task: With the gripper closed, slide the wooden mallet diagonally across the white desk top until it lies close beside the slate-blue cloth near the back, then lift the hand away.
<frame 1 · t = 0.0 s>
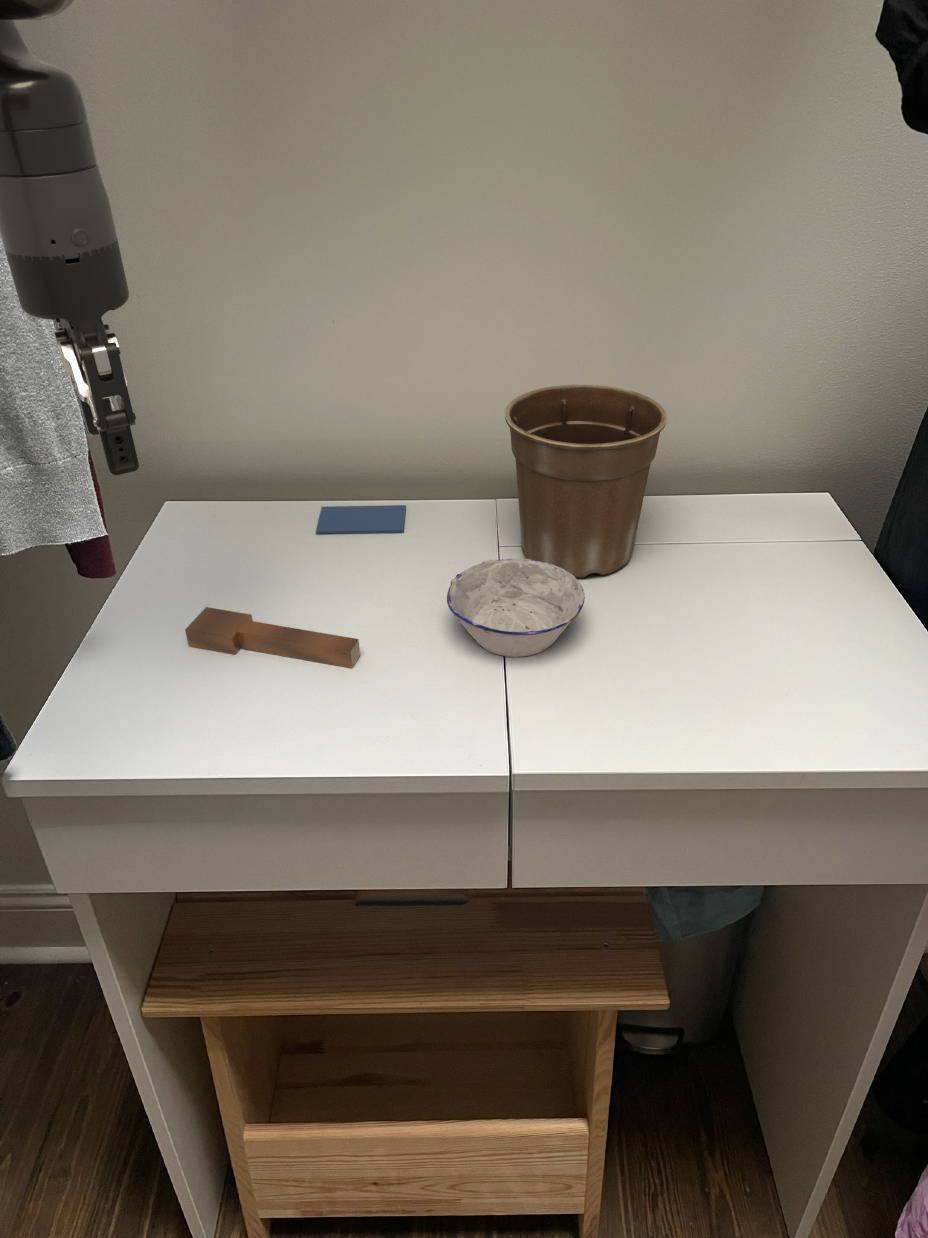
hand: (113, 450, 76), 22 cm above the table, tool pointing down, fingers open, 8 cm apart
wooden mallet: (263, 645, 90), on the table
bowl: (514, 634, 92), on the table
cloth: (362, 520, 110), on the table
plant pot: (576, 551, 104), on the table
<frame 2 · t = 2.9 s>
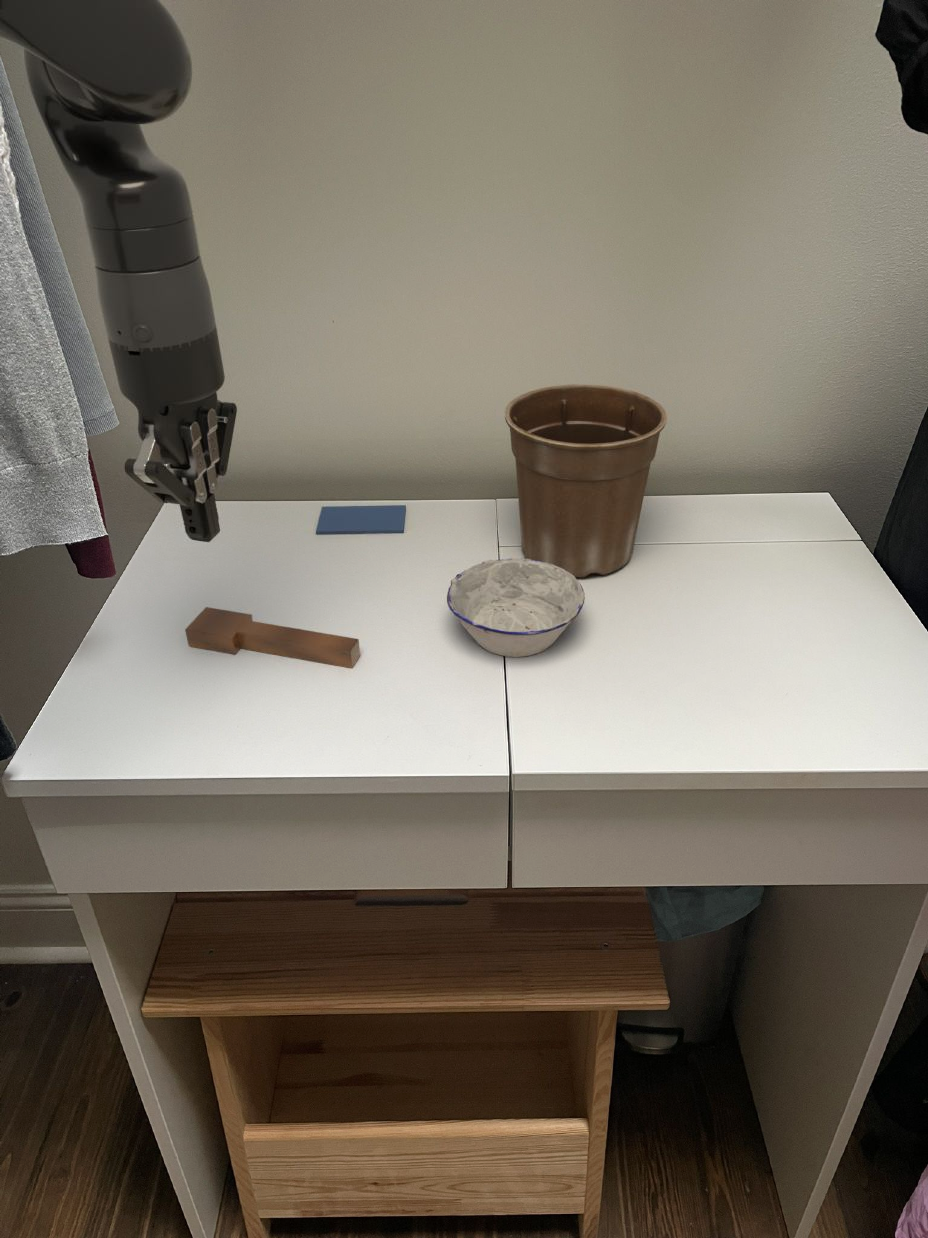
hand: (204, 536, 77), 15 cm above the table, tool pointing down, fingers closed
nothing on the table moved.
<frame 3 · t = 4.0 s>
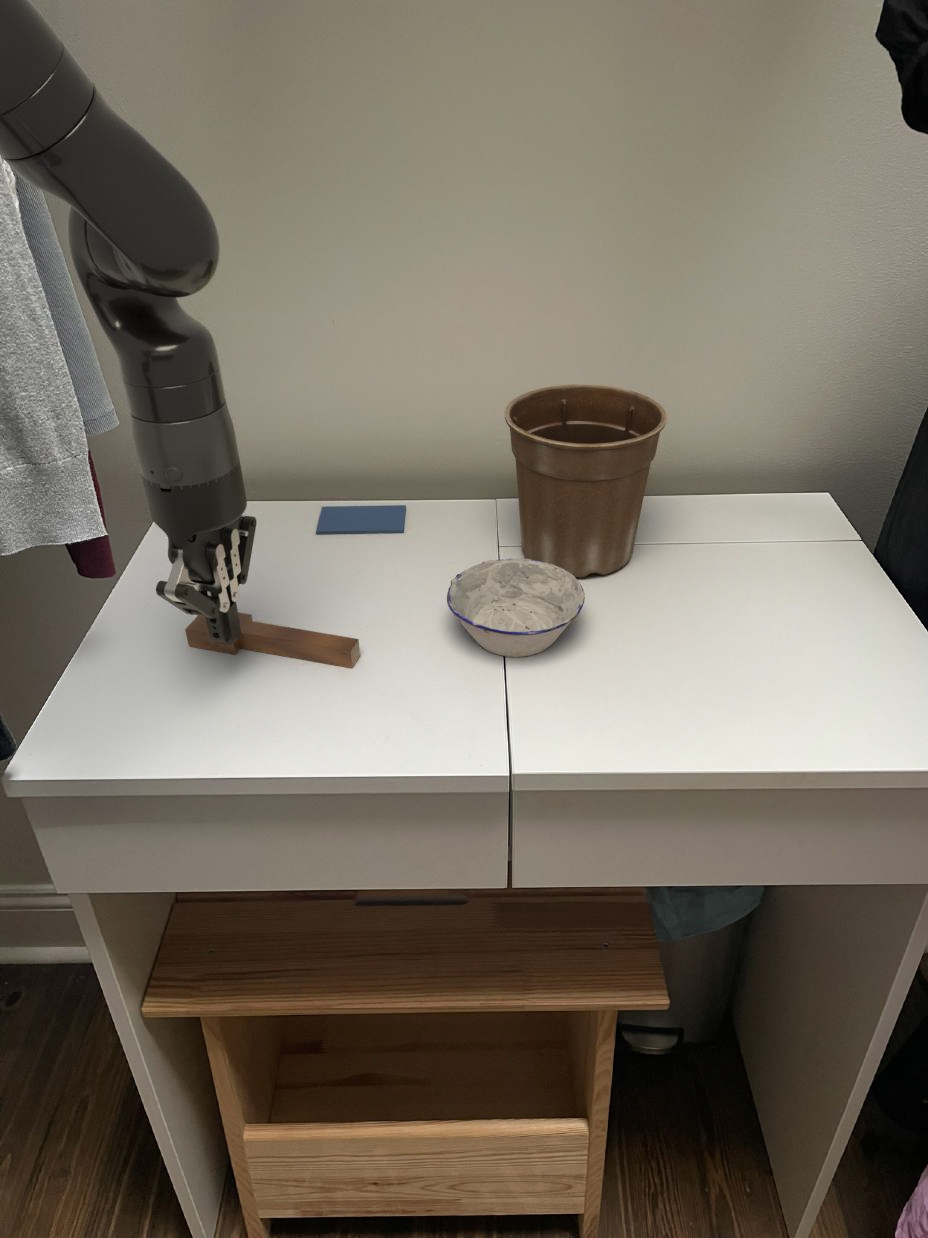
hand: (226, 639, 83), 5 cm above the table, tool pointing down, fingers closed
nothing on the table moved.
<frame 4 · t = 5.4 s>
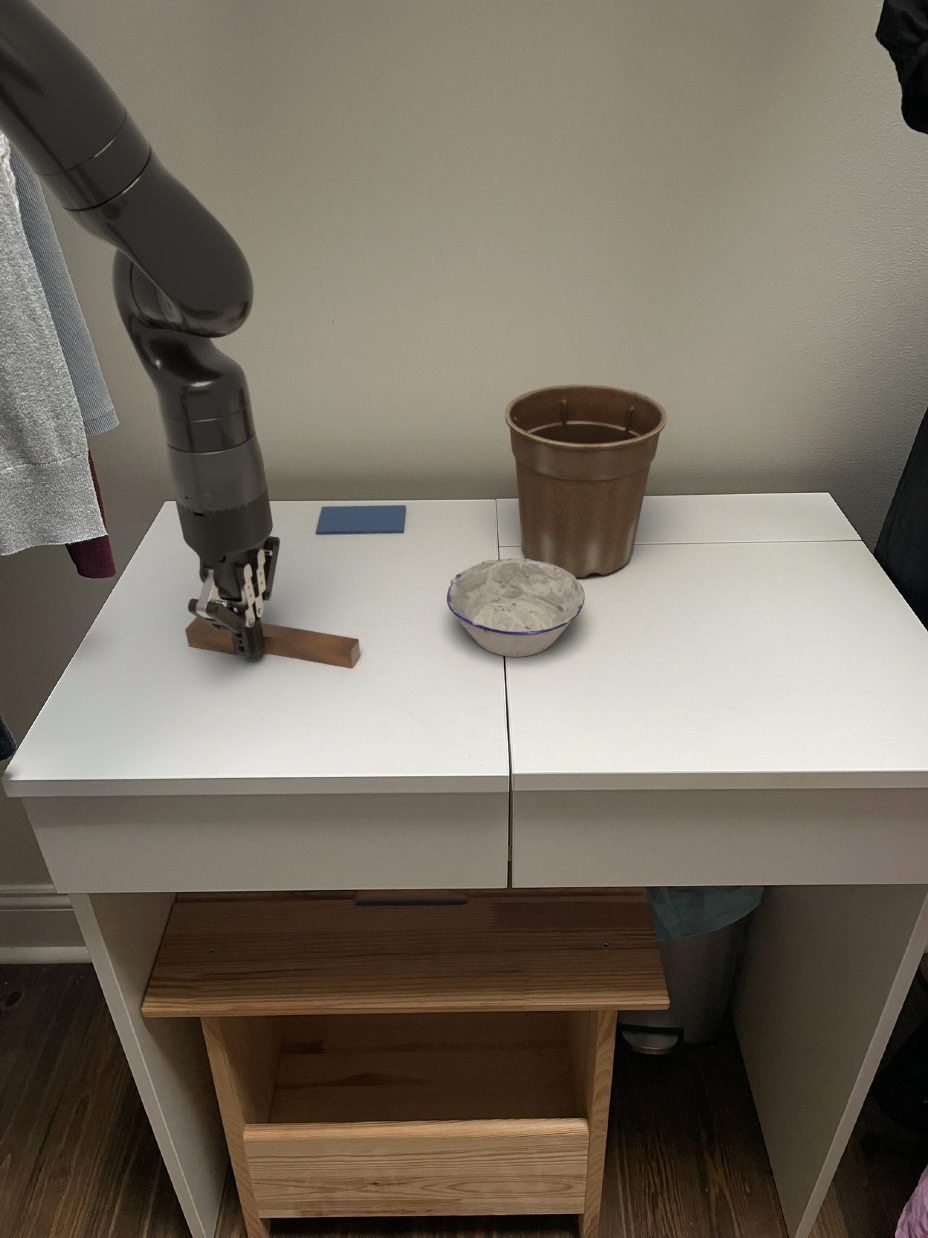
hand: (251, 652, 88), 1 cm above the table, tool pointing down, fingers closed
wooden mallet: (263, 645, 90), on the table, touching gripper
everything else where it was.
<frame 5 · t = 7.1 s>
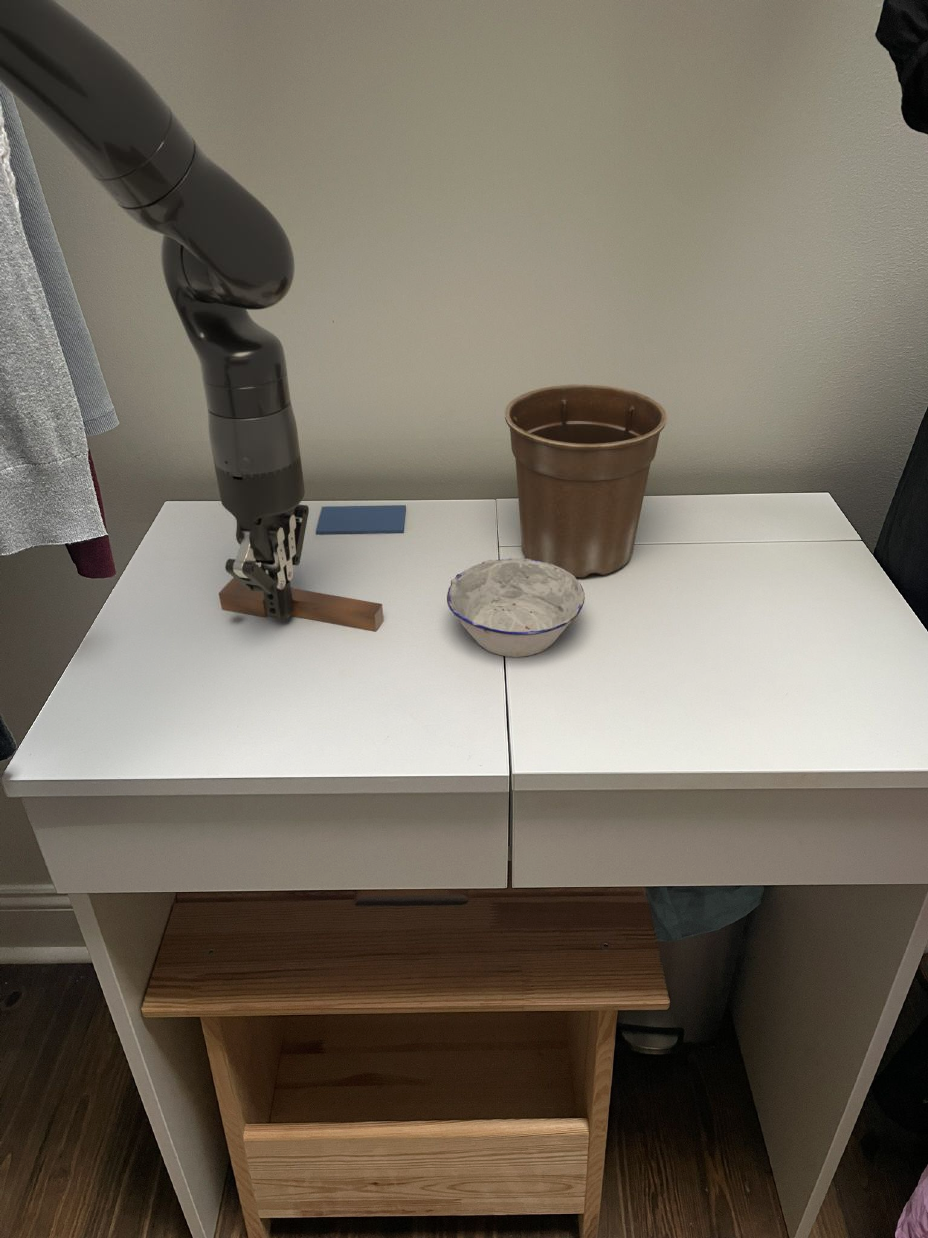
hand: (280, 614, 93), 1 cm above the table, tool pointing down, fingers closed
wooden mallet: (291, 609, 95), on the table, touching gripper
everything else where it was.
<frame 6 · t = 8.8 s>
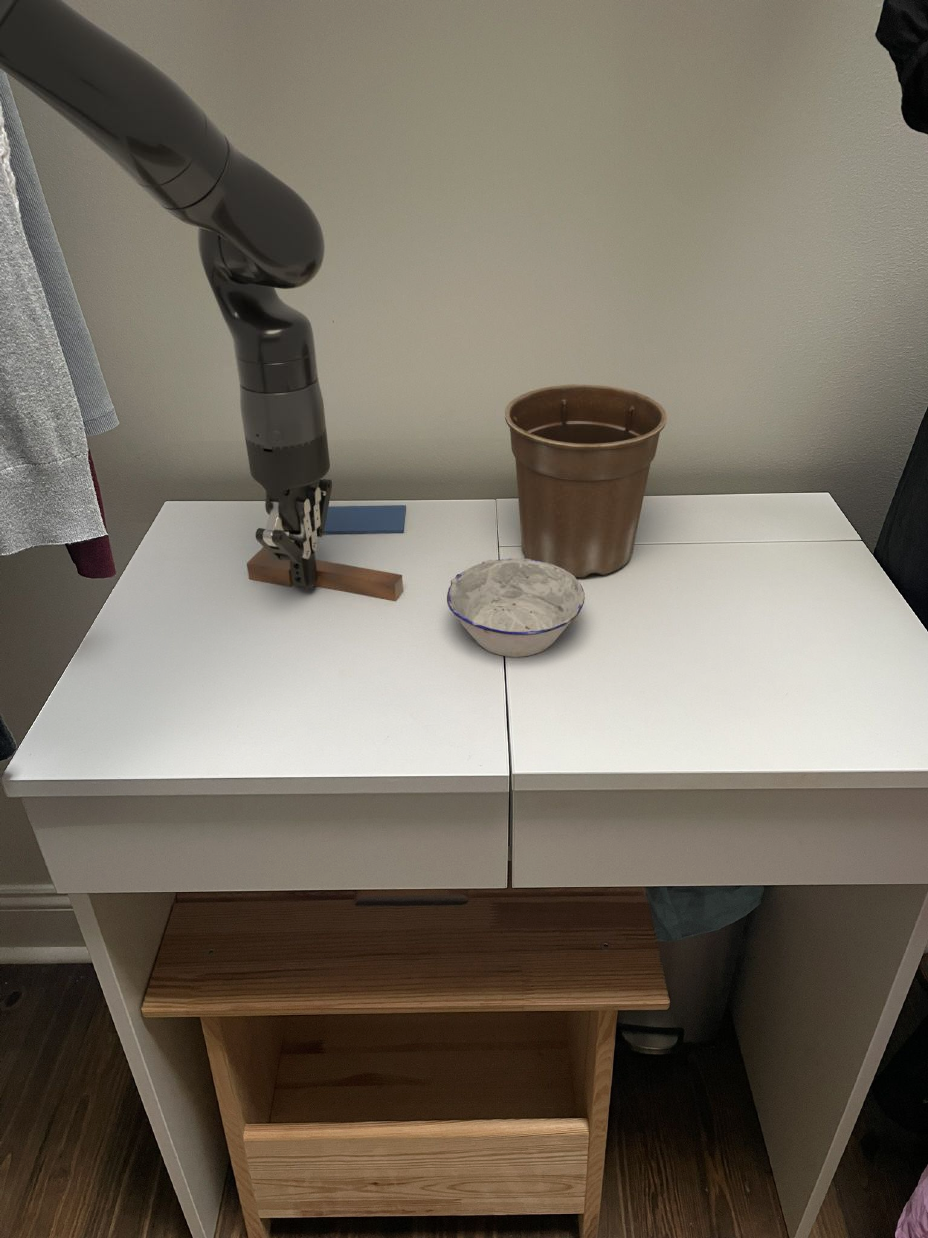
hand: (305, 584, 97), 1 cm above the table, tool pointing down, fingers closed
wooden mallet: (315, 580, 100), on the table, touching gripper
everything else where it was.
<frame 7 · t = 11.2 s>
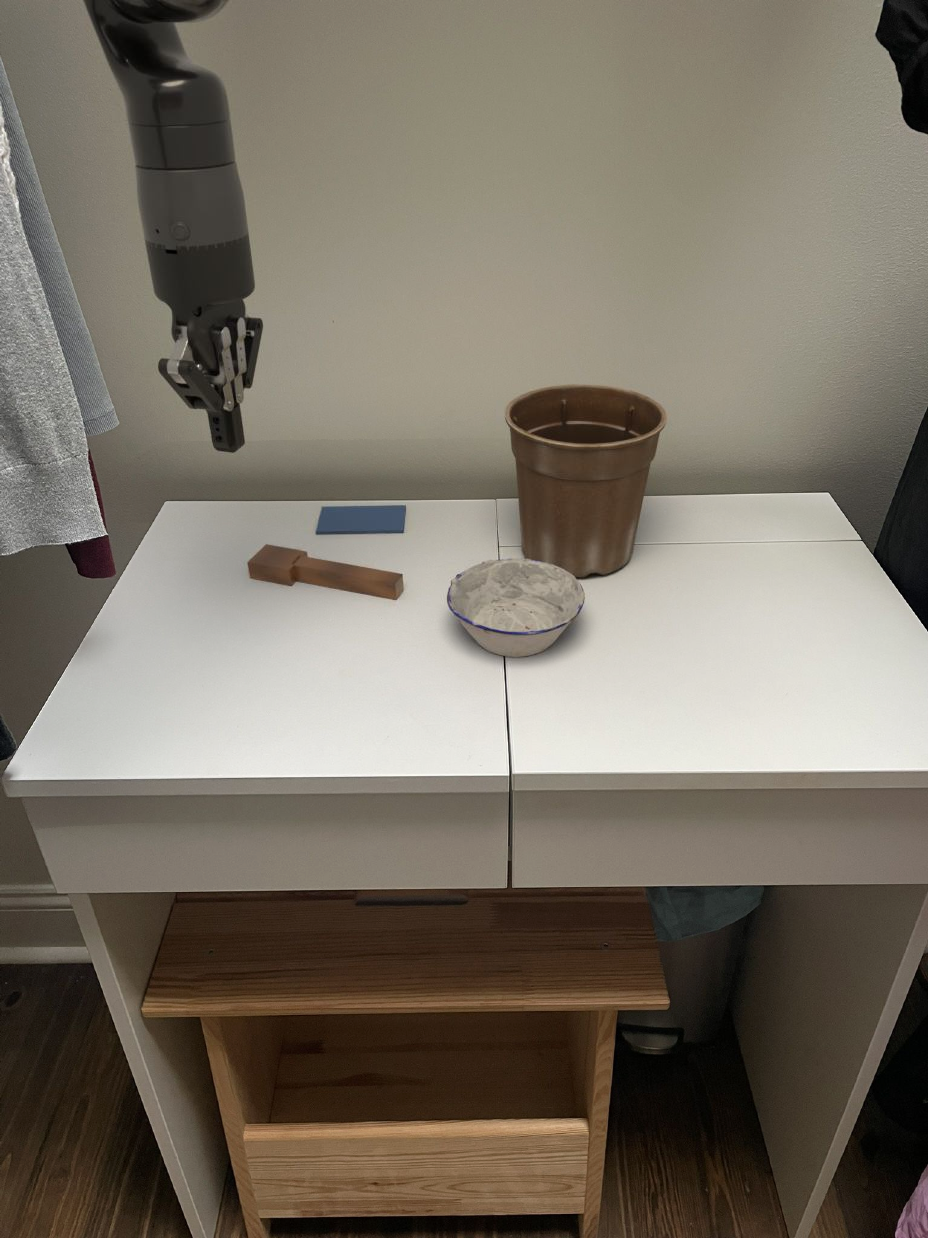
hand: (229, 448, 79), 20 cm above the table, tool pointing down, fingers closed
wooden mallet: (316, 579, 100), on the table
everything else where it was.
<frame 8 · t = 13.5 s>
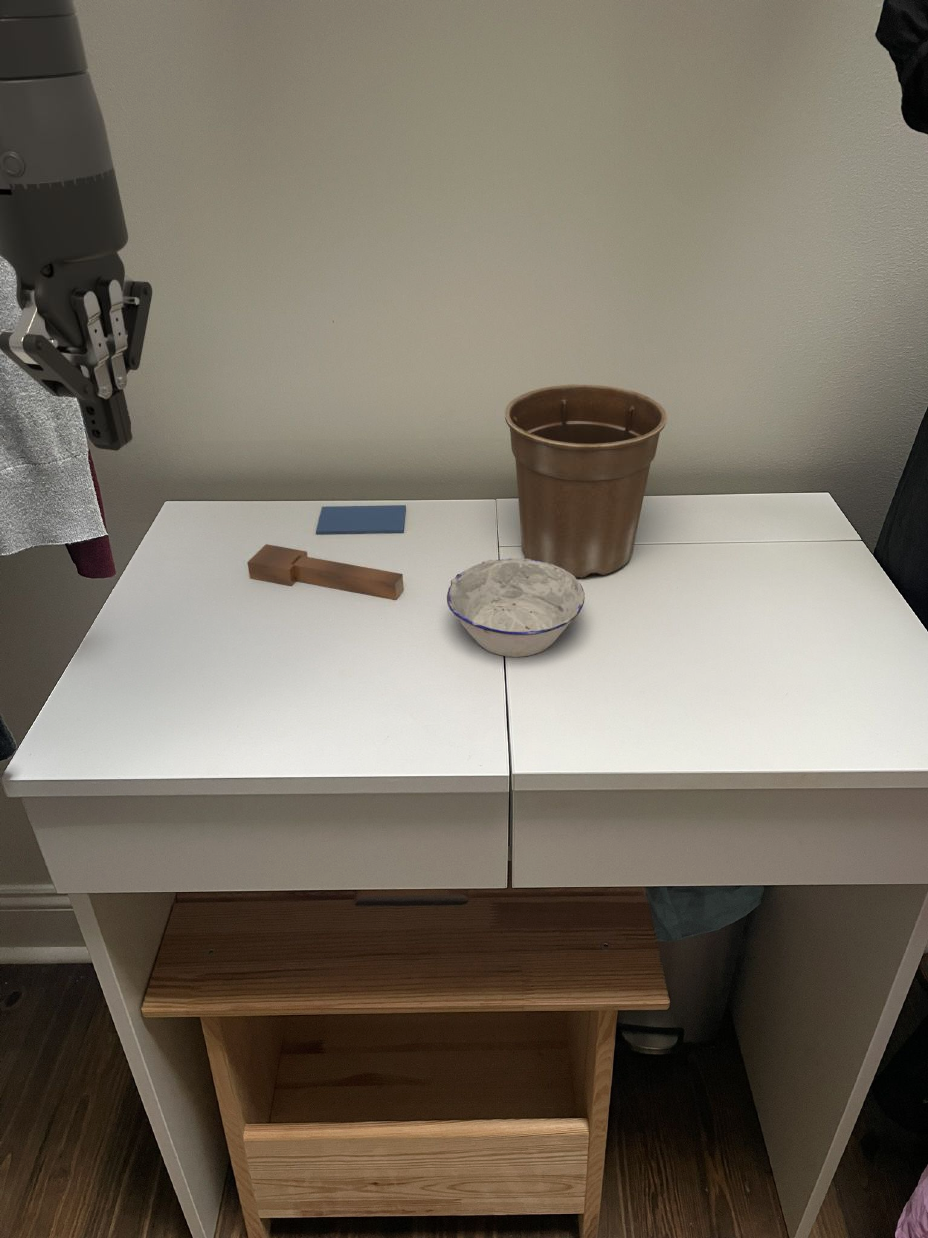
hand: (113, 445, 64), 27 cm above the table, tool pointing down, fingers closed
nothing on the table moved.
at the end: wooden mallet 13.2 cm from the cloth (horizontally); wooden mallet moved 12.3 cm from its start; wooden mallet tilted 0° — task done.
